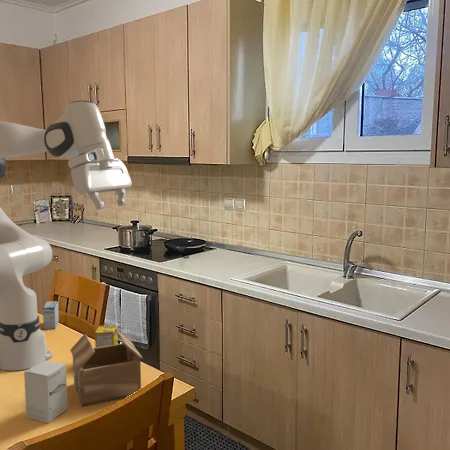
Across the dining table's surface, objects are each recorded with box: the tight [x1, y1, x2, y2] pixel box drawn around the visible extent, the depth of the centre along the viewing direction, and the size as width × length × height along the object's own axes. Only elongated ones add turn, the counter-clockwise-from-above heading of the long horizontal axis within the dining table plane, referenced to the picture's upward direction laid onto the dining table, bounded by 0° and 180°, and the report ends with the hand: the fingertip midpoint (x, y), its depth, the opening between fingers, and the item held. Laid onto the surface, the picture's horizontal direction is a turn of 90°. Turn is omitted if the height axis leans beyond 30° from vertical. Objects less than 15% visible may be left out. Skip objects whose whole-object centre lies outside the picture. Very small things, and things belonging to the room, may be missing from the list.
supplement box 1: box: [23, 360, 68, 424], centre depth 123 cm, size 7×7×13 cm
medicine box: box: [42, 300, 60, 330], centre depth 185 cm, size 8×4×9 cm, turn 10°
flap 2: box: [115, 329, 143, 359], centre depth 138 cm, size 14×6×1 cm
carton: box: [72, 342, 142, 408], centre depth 136 cm, size 14×16×10 cm
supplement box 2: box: [94, 325, 119, 348], centre depth 155 cm, size 6×6×11 cm
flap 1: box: [70, 333, 95, 370], centre depth 133 cm, size 14×6×1 cm
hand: (112, 207), depth 131 cm, fingers open, 8 cm apart
